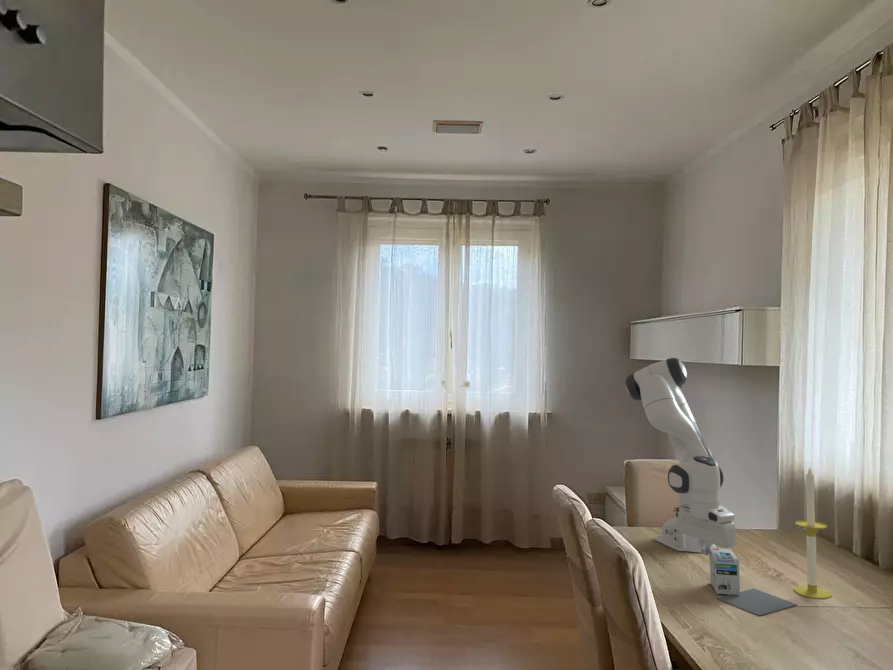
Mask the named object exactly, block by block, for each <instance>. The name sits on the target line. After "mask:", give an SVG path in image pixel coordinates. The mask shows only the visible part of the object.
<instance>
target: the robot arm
mask: <svg viewBox="0 0 893 670" xmlns="http://www.w3.org/2000/svg"><path fill="white" fill-rule="evenodd" d="M687 380H688V372H687V368H686V366H685V364H684V363H683V362H682V360H680V359H679V358H677V357H670V358H667V359H665V360H660V361H657V362H654V363H651V364H649V365H648V366H646V367H643V368H641V369H639V370H637V371H635V372H632V373H630V374H629V375H627V376H626V378H625V382H624V383H625V389H626V391H627V393H628V395H629V396H630V397H631V398H632V399H633V400H635V401H641V403H642V406H643V409H644V413H645V416H646V419H647V420H648V422H649V423H650V425H651V427H653V428H655V429H656V430H658V431H660V432H664V433H666V434H667V437H668V438H669V441H670V443H671V446H672V448H673V451H674V452H675V454H676V458H677V459H678V461H679V463H676V464H673V465H671V466H670V467H669V470H668V471H667V482H668V485H669V487H670V488H671V489H672V490H673V492H675V493H677V494H678V503H679V504H678V505H679V506H677V507H674V508H673V512H676V513H675V516H673V517H672V518H671V519H669V520H667V521H666V522H664V523H663V524H662V527H661V534H658V535H656V536H655V538H654V541H656V542H657V543H658V542H659V544H660V543H661V544H662V545H664V546H666V547H669V548H671V549H674V550H676V551H678V552H691V553H700V554H701V555H705V556H710V550H709V549H710V548H717V546H719V547H720V548H723V549H732V548H734V547H735V545H736V543H737V533H736V525H735V523H734V522H733V521H735V519H736V517H735V514H734V513H733V512H731V511H730V510H729V509H727V508H725V507H724V506H723V505H722V504H721V497H720V490H721V487H722V486H723V483H724V480H725V479H724V478H725V477H724V472H723V470H722V468H721V467H720V465H719V464H718V462H717V461H716V460H715V459H714V457H713V454H712V451H711V450H710V449H709V447H708V446H707V443H706V442H705V441H704V439H703V437H702V435H701V433H700V432H701V431H700V430H699V427H698V425H697V421H696V419H695V416H694V415H693V412H692V410H691V408H690V406H689V404H688V402H687V399H686V397H685V395H684V393H683V391H682V390H681V389H682V388H683V385H685V383H686V382H687Z"/></svg>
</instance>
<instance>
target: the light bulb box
mask: <svg viewBox="0 0 893 670" xmlns="http://www.w3.org/2000/svg"><path fill="white" fill-rule="evenodd" d="M709 550H710V552H709V569H710V570H709V577H710V578H709V579H710V580H709V582H710V584H711V586H712V587H713V590H714V591H715V593H716V594H717V595H740V592H741V591H740V590H741V587H740V586H741V585H740V584H741V583H740V558H738V556H737V555H736V554H735V553H734V551H733V550H732V548H721V547H719V548H710V549H709Z"/></svg>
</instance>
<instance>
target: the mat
mask: <svg viewBox="0 0 893 670" xmlns="http://www.w3.org/2000/svg"><path fill="white" fill-rule="evenodd" d="M716 599H717V600H718V599H719V600H718V601H721V602H723V601H724V602H723V603H726V604H728V605H730V604H731V606H733V605H734V607H735V606H736V608H738V607H739V608H738V609H740V608H741V610H743V611H745V610H746V612H747V613H750V612H751V613H750V614H753V615H755V614H756V616H757V615H758V617H762V616H761V615H763V616H765V614H766V615H769V614H773V613H776V612H779V611H782V610H787V609H790V608H793V607H796V606H798V604H797V603H795V602H793V601H789V600H786V599H784V598H780V597H779V596H776V595H773V594H770V593H767V592H766V591H765V592H764V591H762V590H759V589H756V588H754V587H753V588H749V589H746V590H743V591H742V590H741V591H740V595H728V594H726V595H723V596H719V597H717V598H716Z"/></svg>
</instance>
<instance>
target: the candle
mask: <svg viewBox="0 0 893 670" xmlns="http://www.w3.org/2000/svg"><path fill="white" fill-rule="evenodd" d="M805 488H806V489H805V490H806V491H805V495H806V496H805V497H806V499H805V501H806V519H805V520H804V519H803V520H802V519H801V520H796V521H795V522H794V524H795V526H798V527H800V528H802V529H803V528H805V529H806V569H807V570H806V571H807V572H806V574H807V576H806V577H807V585H796V586H795V587H793V591H794V593H796V594H797V595H800V596H802V597H805V598H810V599H816V600H817V599H818V600H826V599H830V598H832V596H833V595H832V593H831V592H830V591H829V590H827V589H824V588H822V587H818V575H817V574H818V572H817V571H818V570H817V530H825V529H827V528H828V524H826V523H823V522H820V521H816V518H815V517H816V511H815V503H816V502H815V475H814V474H813V472H812V468H808V472H807V473H806V474H805Z"/></svg>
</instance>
